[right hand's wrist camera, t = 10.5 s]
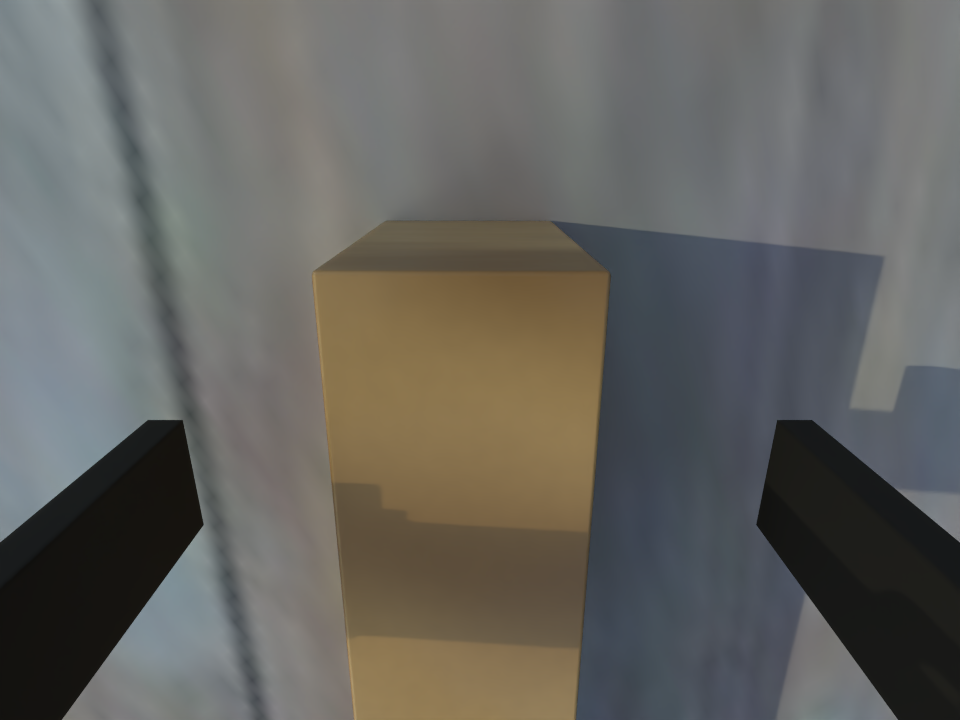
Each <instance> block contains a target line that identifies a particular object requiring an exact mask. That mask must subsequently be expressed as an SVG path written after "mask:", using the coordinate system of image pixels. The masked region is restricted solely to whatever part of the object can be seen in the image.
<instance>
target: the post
mask: <svg viewBox="0 0 960 720" xmlns="http://www.w3.org/2000/svg"><path fill="white" fill-rule="evenodd" d="M610 280H611V275H610V272H609V271H608V270H607V269H605V268H604V267H603V266H602V265H601V264H600V263H598V262H597V261H596V260H595V259H594V258H593V257H592V256H590V255H589V254H588V253H587V252H586V251H585V250H583V249H582V248H581V247H580V246H579V245H578V244H577V243H575V242H574V241H573V240H572V239H571V238H570V237H568V236H567V235H566V234H565V233H564V232H563V231H562V230H560V229H559V228H558V227H557V226H556V225H555V224H553V223H552V222H550V221H385V222H384V223H382V224H381V225H379V226H378V227H376V228H375V229H373V230H372V231H371V232H369V233H368V234H366V235H365V236H363V237H362V238H361V239H359V240H358V241H356V242H355V243H353V244H352V245H351V246H349V247H348V248H346V249H345V250H343V251H342V252H340V253H339V254H338V255H336V256H335V257H333V258H332V259H330V260H329V261H328V262H326V263H325V264H323V265H322V266H320V267H319V268H318V269H316V270H315V271H313V274H312V282H313V293H314V303H315V314H316V324H317V335H318V345H319V356H320V366H321V377H322V387H323V398H324V408H325V419H326V429H327V440H328V450H329V461H330V471H331V482H332V492H333V503H334V513H335V524H336V534H337V545H338V555H339V566H340V576H341V587H342V597H343V608H344V618H345V629H346V639H347V650H348V660H349V671H350V681H351V692H352V703H353V713H354V720H576V713H577V700H578V687H579V674H580V662H581V649H582V636H583V624H584V611H585V598H586V585H587V573H588V560H589V547H590V535H591V522H592V509H593V496H594V484H595V471H596V458H597V446H598V433H599V420H600V407H601V395H602V382H603V369H604V356H605V344H606V331H607V318H608V306H609V293H610Z"/></svg>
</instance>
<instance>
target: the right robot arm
mask: <svg viewBox="0 0 960 720" xmlns="http://www.w3.org/2000/svg"><path fill="white" fill-rule="evenodd" d="M203 525H204V524H203V519H202V514H201V509H200V504H199V499H198V494H197V489H196V484H195V479H194V474H193V469H192V464H191V459H190V454H189V449H188V444H187V439H186V434H185V429H184V424H183V420H148V421H146V422H145V423H144V424H143V425H142V426H140V427H139V428H138V429H137V430H135V431H134V432H133V433H132V434H131V435H129V436H128V437H127V438H126V439H125V440H123V441H122V442H121V443H120V444H119V445H117V446H116V447H115V448H114V449H113V450H111V451H110V452H109V453H108V454H107V455H105V456H104V457H103V458H102V459H100V460H99V461H98V462H97V463H96V464H94V465H93V466H92V467H91V468H90V469H88V470H87V471H86V472H85V473H84V474H82V475H81V476H80V477H79V478H78V479H76V480H75V481H74V482H73V483H72V484H70V485H69V486H68V487H67V488H65V489H64V490H63V491H62V492H61V493H59V494H58V495H57V496H56V497H55V498H53V499H52V500H51V501H50V502H49V503H47V504H46V505H45V506H44V507H43V508H41V509H40V510H39V511H38V512H37V513H35V514H34V515H33V516H32V517H31V518H29V519H28V520H27V521H26V522H24V523H23V524H22V525H21V526H20V527H18V528H17V529H16V530H15V531H14V532H12V533H11V534H10V535H9V536H8V537H6V538H5V539H4V540H3V541H2V542H0V720H62V719H63V717H64V716H65V715H66V713H67V712H68V710H69V709H70V708H71V706H72V705H73V704H74V702H75V701H76V699H77V698H78V697H79V695H80V694H81V693H82V691H83V690H84V688H85V687H86V686H87V684H88V683H89V682H90V680H91V679H92V677H93V676H94V675H95V673H96V672H97V671H98V669H99V668H100V666H101V665H102V664H103V662H104V661H105V660H106V658H107V657H108V655H109V654H110V653H111V651H112V650H113V649H114V647H115V646H116V644H117V643H118V642H119V640H120V639H121V638H122V636H123V635H124V633H125V632H126V631H127V629H128V628H129V627H130V625H131V624H132V622H133V621H134V620H135V618H136V617H137V616H138V614H139V613H140V612H141V610H142V609H143V607H144V606H145V605H146V603H147V602H148V601H149V599H150V598H151V596H152V595H153V594H154V592H155V591H156V590H157V588H158V587H159V585H160V584H161V583H162V581H163V580H164V579H165V577H166V576H167V574H168V573H169V572H170V570H171V569H172V568H173V566H174V565H175V563H176V562H177V561H178V559H179V558H180V557H181V555H182V554H183V552H184V551H185V550H186V548H187V547H188V546H189V544H190V543H191V541H192V540H193V539H194V537H195V536H196V535H197V533H198V532H199V530H200V529H201V528H202V526H203ZM756 525H757V526H758V528H759V529H760V530H761V532H762V533H763V535H764V536H765V537H766V539H767V540H768V541H769V543H770V544H771V546H772V547H773V548H774V550H775V551H776V552H777V554H778V555H779V557H780V558H781V559H782V561H783V562H784V563H785V565H786V566H787V568H788V569H789V570H790V572H791V573H792V574H793V576H794V577H795V579H796V580H797V581H798V583H799V584H800V585H801V587H802V588H803V590H804V591H805V592H806V594H807V595H808V596H809V598H810V599H811V601H812V602H813V603H814V605H815V606H816V607H817V609H818V610H819V612H820V613H821V614H822V616H823V617H824V618H825V620H826V621H827V623H828V624H829V625H830V627H831V628H832V629H833V631H834V632H835V633H836V635H837V636H838V638H839V639H840V640H841V642H842V643H843V644H844V646H845V647H846V649H847V650H848V651H849V653H850V654H851V655H852V657H853V658H854V660H855V661H856V662H857V664H858V665H859V666H860V668H861V669H862V671H863V672H864V673H865V675H866V676H867V677H868V679H869V680H870V682H871V683H872V684H873V686H874V687H875V688H876V690H877V691H878V693H879V694H880V695H881V697H882V698H883V699H884V701H885V702H886V704H887V705H888V706H889V708H890V709H891V710H892V712H893V713H894V715H895V716H896V717H897V719H898V720H960V542H958V541H957V540H956V539H955V538H954V537H952V536H951V535H950V534H949V533H948V532H946V531H945V530H944V529H943V528H942V527H940V526H939V525H938V524H937V523H936V522H934V521H933V520H932V519H931V518H929V517H928V516H927V515H926V514H925V513H923V512H922V511H921V510H920V509H919V508H917V507H916V506H915V505H914V504H913V503H911V502H910V501H909V500H908V499H907V498H905V497H904V496H903V495H902V494H901V493H899V492H898V491H897V490H896V489H895V488H893V487H892V486H891V485H890V484H888V483H887V482H886V481H885V480H884V479H882V478H881V477H880V476H879V475H878V474H876V473H875V472H874V471H873V470H872V469H870V468H869V467H868V466H867V465H866V464H864V463H863V462H862V461H861V460H860V459H858V458H857V457H856V456H855V455H853V454H852V453H851V452H850V451H849V450H847V449H846V448H845V447H844V446H843V445H841V444H840V443H839V442H838V441H837V440H835V439H834V438H833V437H832V436H831V435H829V434H828V433H827V432H826V431H825V430H823V429H822V428H821V427H820V426H818V425H817V424H816V423H815V422H814V421H812V420H777V424H776V429H775V434H774V439H773V444H772V449H771V454H770V459H769V464H768V469H767V474H766V479H765V484H764V489H763V494H762V499H761V504H760V509H759V514H758V519H757V524H756Z"/></svg>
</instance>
